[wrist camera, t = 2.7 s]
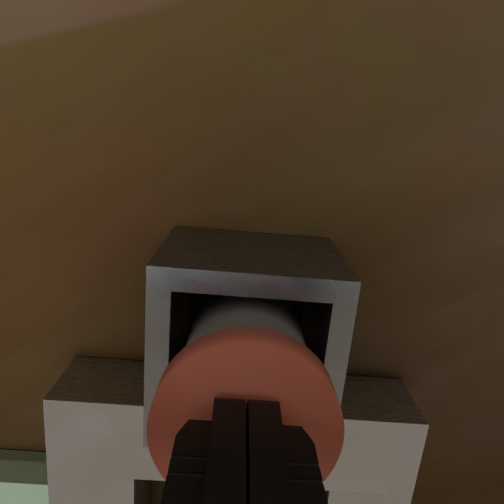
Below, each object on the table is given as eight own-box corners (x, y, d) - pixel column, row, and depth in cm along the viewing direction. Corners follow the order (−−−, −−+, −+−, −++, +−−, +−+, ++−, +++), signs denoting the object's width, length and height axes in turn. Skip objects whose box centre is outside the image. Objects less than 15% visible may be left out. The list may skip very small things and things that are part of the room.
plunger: (318, 273, 15) (358, 354, 9) (302, 389, 16) (330, 519, 11) (184, 262, 14) (148, 339, 9) (178, 381, 16) (144, 508, 10)
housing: (428, 246, 17) (500, 292, 12) (352, 612, 22) (381, 744, 18) (71, 217, 16) (-2, 254, 12) (83, 598, 22) (37, 731, 17)
